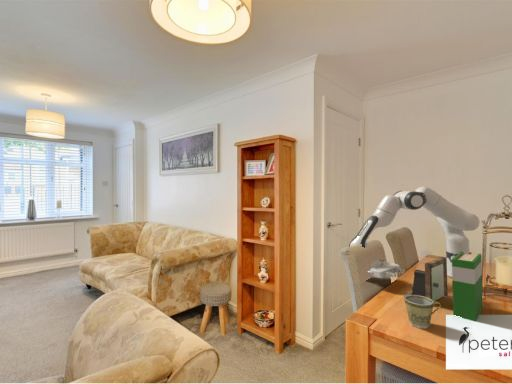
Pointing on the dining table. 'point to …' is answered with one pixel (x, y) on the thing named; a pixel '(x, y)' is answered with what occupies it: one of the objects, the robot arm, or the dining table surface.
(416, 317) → the ceramic cup
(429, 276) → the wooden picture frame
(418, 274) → the door stopper
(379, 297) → the dining table surface
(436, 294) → the door
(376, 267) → the robot arm
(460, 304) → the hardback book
